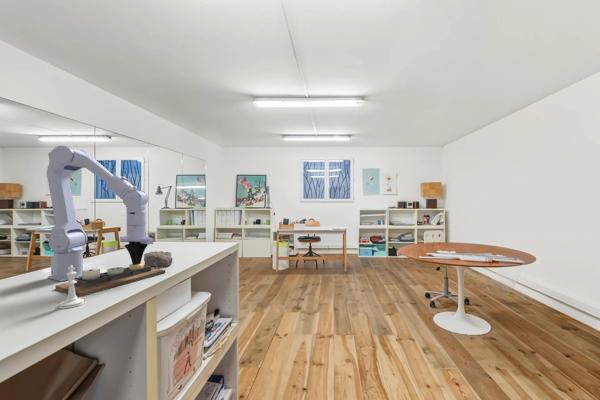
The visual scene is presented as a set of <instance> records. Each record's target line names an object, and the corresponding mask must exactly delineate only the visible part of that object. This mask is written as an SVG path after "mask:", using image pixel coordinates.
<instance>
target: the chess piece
mask: <svg viewBox="0 0 600 400" xmlns="http://www.w3.org/2000/svg"><path fill="white" fill-rule="evenodd" d="M74 269H75V268H73V265H70V267H69V268H68V270H70V272H68V273H67V274H66V275H67V277H68V280H67V281H66V284H69V291H68V293H67V297H66V298H65V300H63V301H61V302H60V303H59V306H58V308H59V309H61V310H63V309H72V308H76V307H79V306H82V305H84V303H85V299H83V298H80V297H79V296H77V295H76V294H75V288H74V283H77V281H74V279H76V278H75V276H76V273H77V272H74V271H73V270H74Z"/></svg>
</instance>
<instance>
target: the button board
mask: <svg viewBox="0 0 600 400" xmlns="http://www.w3.org/2000/svg"><path fill="white" fill-rule="evenodd" d="M123 269H124V273H119V274H115V275H108V274H107V271H105V272H100V278H98V279H94V280H82V277H79V278H75V279H74V281H77V283H74V288H75V294H76V297H82V296H86V295H90V294H94V293H98V292H102V291H104V290H110V289H113V288H116V287H120V286H123V285H126V284H131V283H134V282H138V281H141V280H146V279H150V278H153V277H156V276H159V275H163V274H166V269H160V268H156V267H151V266H146V265H144V268H140V269H136V270H131V269H129V266H127V267H123ZM55 290H58V291H61V292H64V293H67V294H68V291H69V284H66V283H61V284H57V285H55Z"/></svg>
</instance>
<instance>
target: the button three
mask: <svg viewBox="0 0 600 400" xmlns="http://www.w3.org/2000/svg"><path fill="white" fill-rule="evenodd" d="M144 264H145V262H141V263H140V264H133V263H130V264H129V266H128V267H129V269H131V270H136V269H140V268H144Z"/></svg>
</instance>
